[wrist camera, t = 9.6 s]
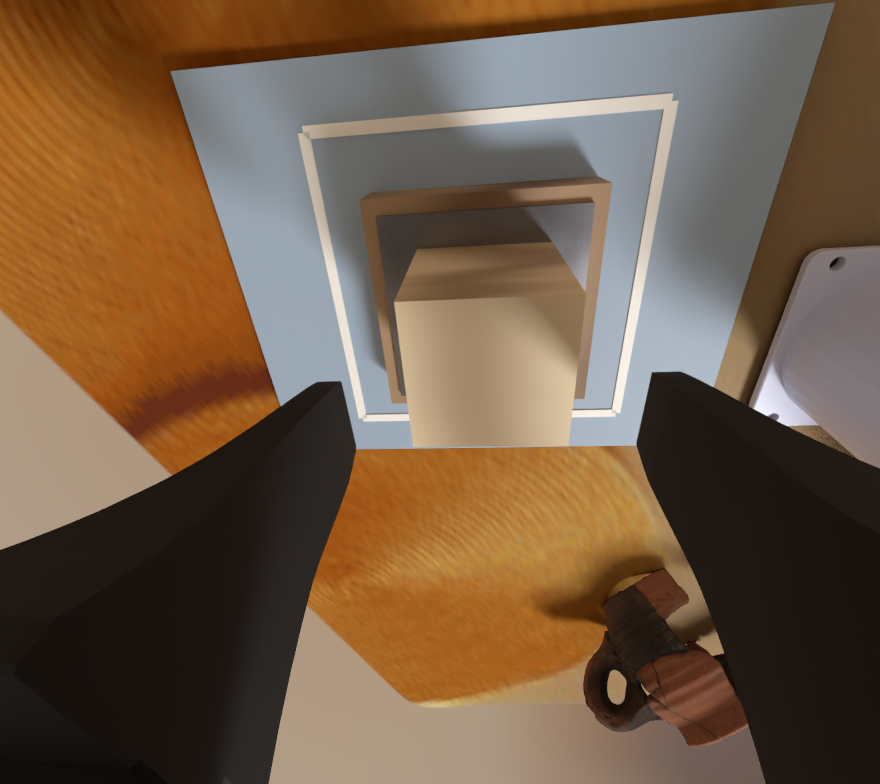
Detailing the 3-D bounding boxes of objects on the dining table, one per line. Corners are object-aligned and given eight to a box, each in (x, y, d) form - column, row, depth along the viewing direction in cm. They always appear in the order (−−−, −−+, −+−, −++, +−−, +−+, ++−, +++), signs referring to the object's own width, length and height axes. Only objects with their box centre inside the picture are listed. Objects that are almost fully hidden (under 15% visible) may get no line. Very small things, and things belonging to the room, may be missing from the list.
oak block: (552, 241, 14) (586, 293, 10) (543, 362, 16) (568, 445, 12) (416, 248, 14) (394, 302, 10) (428, 365, 17) (413, 446, 13)
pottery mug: (701, 535, 26) (836, 688, 20) (700, 557, 33) (799, 673, 28) (536, 639, 27) (622, 804, 22) (570, 638, 34) (640, 762, 29)
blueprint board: (820, 6, 12) (894, -17, 10) (690, 436, 21) (715, 473, 19) (181, 73, 14) (128, 64, 12) (298, 442, 23) (280, 476, 21)
